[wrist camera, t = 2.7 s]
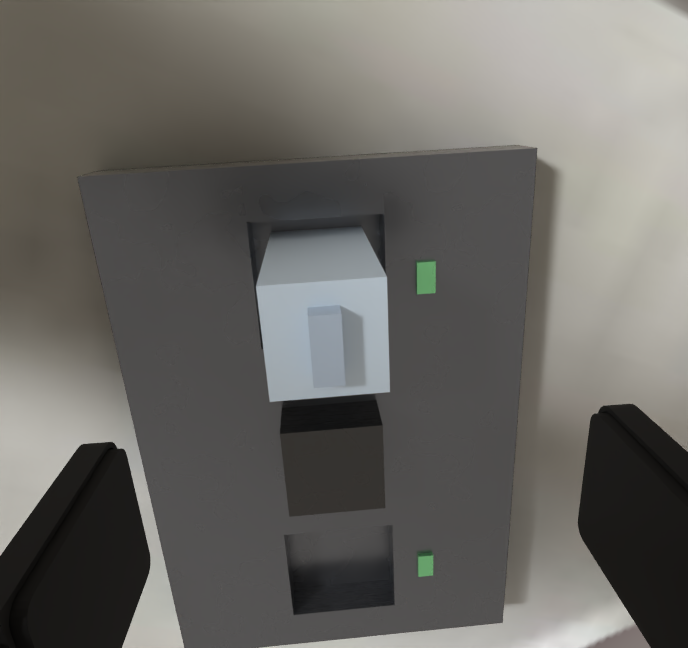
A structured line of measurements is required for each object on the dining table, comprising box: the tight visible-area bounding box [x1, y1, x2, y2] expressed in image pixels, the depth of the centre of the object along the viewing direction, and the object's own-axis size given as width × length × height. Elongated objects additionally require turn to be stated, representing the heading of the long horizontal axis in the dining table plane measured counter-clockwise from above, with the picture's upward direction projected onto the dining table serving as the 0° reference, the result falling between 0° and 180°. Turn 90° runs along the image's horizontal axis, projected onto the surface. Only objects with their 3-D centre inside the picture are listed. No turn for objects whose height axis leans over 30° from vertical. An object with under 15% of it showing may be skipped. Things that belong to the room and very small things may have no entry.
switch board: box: [77, 145, 537, 648], centre depth 26 cm, size 26×18×4 cm
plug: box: [256, 226, 390, 402], centre depth 21 cm, size 4×4×9 cm
